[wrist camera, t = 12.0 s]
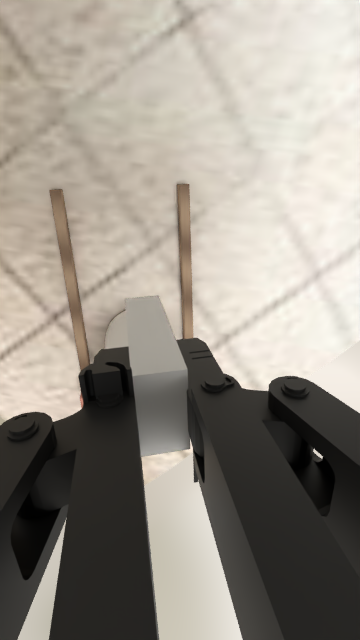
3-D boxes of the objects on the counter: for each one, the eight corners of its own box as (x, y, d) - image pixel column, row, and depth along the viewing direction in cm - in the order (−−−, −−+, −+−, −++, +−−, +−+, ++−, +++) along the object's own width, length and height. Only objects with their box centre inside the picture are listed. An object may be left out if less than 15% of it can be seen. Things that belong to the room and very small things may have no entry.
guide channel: (52, 189, 34) (42, 190, 29) (186, 184, 36) (196, 183, 31) (86, 388, 43) (82, 412, 38) (192, 375, 45) (200, 396, 40)
